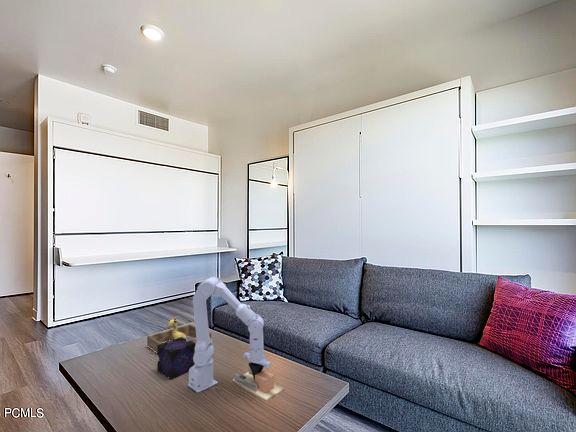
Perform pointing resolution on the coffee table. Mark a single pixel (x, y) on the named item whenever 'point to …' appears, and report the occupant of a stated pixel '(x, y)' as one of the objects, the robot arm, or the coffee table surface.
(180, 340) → the energy cube
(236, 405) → the coffee table surface
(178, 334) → the stuffed giraffe
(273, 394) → the chute
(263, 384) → the block
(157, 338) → the display tray
